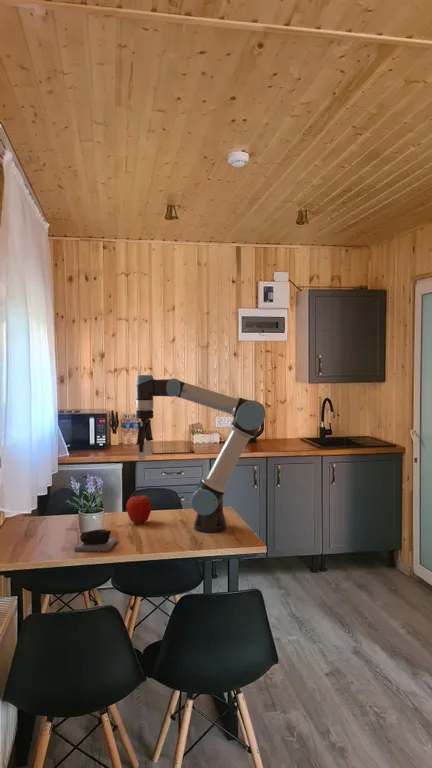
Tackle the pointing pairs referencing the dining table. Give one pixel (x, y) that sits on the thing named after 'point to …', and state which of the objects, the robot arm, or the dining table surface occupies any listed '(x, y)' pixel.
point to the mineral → (95, 537)
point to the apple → (139, 509)
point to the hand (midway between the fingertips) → (145, 457)
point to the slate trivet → (96, 546)
